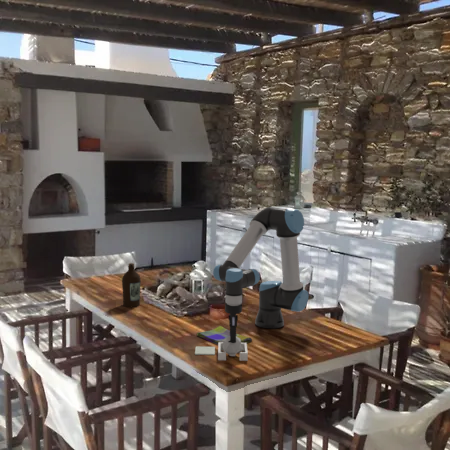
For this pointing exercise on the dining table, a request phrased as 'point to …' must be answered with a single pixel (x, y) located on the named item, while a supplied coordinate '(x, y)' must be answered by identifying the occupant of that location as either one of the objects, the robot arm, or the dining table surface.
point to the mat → (204, 350)
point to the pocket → (242, 354)
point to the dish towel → (220, 335)
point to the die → (232, 346)
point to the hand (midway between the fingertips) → (232, 352)
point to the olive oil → (131, 287)
